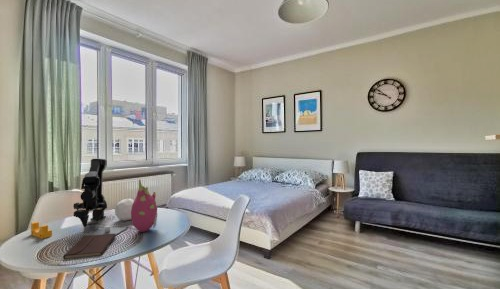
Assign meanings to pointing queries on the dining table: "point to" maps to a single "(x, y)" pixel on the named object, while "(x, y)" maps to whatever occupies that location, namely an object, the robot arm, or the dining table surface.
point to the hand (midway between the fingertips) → (91, 224)
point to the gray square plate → (109, 230)
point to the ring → (91, 227)
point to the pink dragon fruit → (144, 210)
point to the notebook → (90, 246)
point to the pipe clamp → (40, 230)
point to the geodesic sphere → (124, 209)
